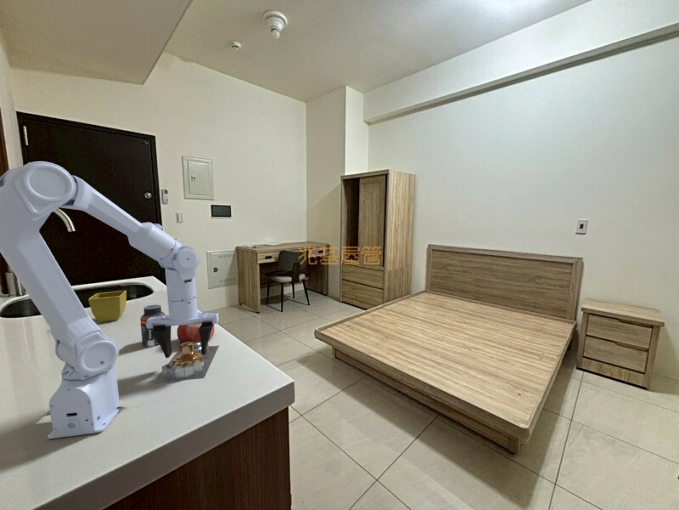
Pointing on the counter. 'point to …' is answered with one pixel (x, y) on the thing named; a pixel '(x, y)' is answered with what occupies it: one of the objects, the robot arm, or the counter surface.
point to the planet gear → (187, 355)
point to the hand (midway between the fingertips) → (186, 354)
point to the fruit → (190, 333)
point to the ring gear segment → (182, 370)
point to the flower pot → (108, 305)
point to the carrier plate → (205, 366)
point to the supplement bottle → (146, 333)
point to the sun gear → (198, 347)
